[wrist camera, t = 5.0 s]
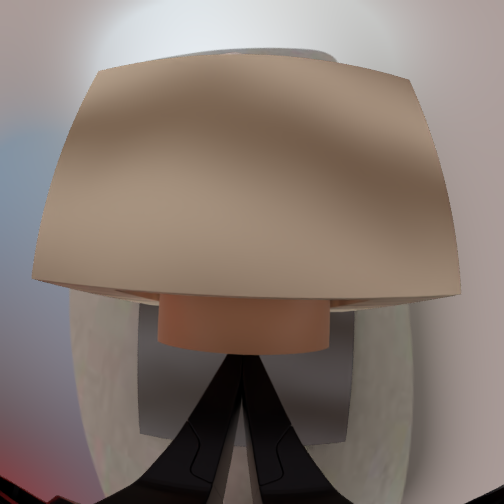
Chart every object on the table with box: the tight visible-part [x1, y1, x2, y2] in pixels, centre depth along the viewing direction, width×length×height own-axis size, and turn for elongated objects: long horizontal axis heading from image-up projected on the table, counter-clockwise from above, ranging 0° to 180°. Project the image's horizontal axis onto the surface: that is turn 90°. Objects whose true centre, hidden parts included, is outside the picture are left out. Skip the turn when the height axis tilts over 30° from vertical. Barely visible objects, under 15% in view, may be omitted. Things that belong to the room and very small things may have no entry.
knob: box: [157, 294, 330, 355], centre depth 10 cm, size 7×6×6 cm
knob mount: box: [32, 54, 461, 446], centre depth 12 cm, size 18×14×12 cm
